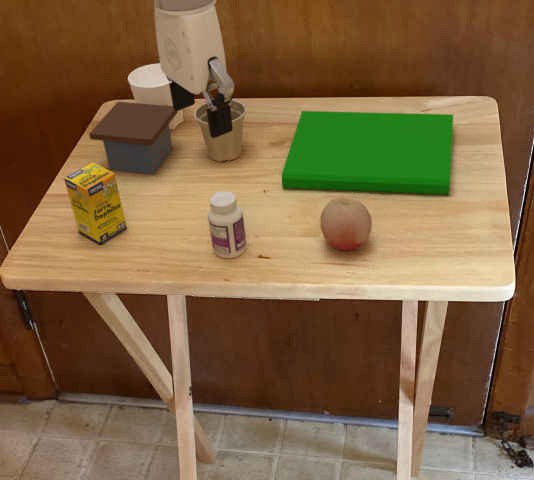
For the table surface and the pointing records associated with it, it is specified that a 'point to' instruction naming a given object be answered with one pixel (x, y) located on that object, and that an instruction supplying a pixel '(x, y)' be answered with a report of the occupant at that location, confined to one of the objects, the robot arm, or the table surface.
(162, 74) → the cup
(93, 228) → the supplement box
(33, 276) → the table surface
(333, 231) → the fruit
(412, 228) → the table surface
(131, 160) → the stand
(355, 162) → the book
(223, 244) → the pill bottle
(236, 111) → the flower pot
